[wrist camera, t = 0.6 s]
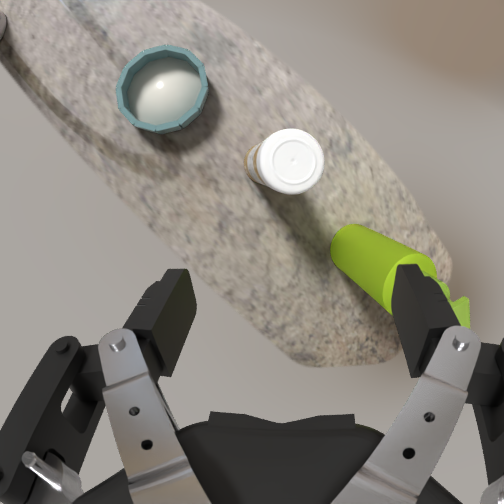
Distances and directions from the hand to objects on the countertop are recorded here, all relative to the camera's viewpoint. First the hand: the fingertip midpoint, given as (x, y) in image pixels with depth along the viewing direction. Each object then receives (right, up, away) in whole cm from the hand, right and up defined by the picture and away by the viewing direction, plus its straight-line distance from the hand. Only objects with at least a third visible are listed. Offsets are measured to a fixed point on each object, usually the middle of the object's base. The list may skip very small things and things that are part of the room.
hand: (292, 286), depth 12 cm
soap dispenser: (+11, +1, +25) cm, 28 cm away
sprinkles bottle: (0, +11, +21) cm, 24 cm away
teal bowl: (-11, +18, +18) cm, 28 cm away
